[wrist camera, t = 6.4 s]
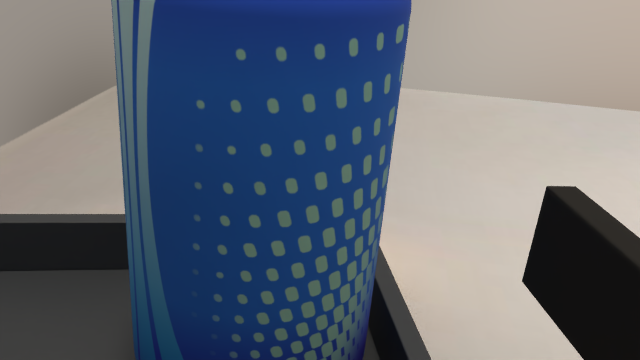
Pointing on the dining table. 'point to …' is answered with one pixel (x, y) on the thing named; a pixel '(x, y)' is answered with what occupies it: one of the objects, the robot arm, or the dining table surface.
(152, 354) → the beer can
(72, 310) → the dark grey serving tray
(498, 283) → the dining table surface
